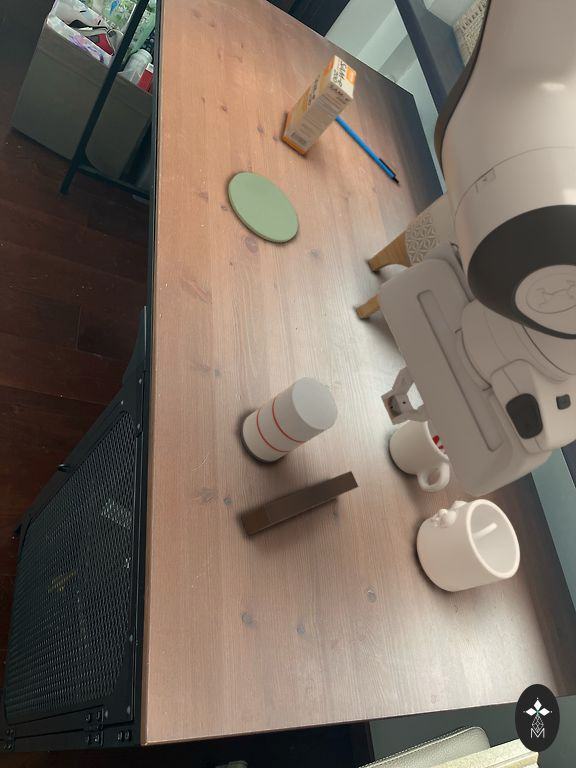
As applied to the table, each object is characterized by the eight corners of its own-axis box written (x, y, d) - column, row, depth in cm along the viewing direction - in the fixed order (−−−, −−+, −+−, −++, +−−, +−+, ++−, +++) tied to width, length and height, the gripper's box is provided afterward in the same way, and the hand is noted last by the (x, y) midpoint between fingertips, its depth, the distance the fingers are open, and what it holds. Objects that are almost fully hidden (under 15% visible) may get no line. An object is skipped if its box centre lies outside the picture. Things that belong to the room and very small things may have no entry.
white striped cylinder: (300, 496, 65) (313, 397, 61) (229, 453, 72) (237, 362, 68) (336, 479, 69) (351, 385, 65) (266, 440, 76) (276, 354, 72)
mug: (438, 494, 86) (491, 473, 80) (479, 558, 86) (536, 542, 79) (397, 537, 78) (452, 517, 72) (441, 609, 77) (502, 595, 71)
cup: (430, 506, 84) (477, 487, 79) (388, 496, 80) (434, 476, 75) (418, 434, 90) (461, 412, 84) (378, 421, 86) (421, 398, 80)
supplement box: (286, 112, 107) (334, 52, 98) (308, 129, 109) (357, 72, 100) (280, 139, 102) (330, 78, 93) (303, 156, 104) (354, 98, 95)
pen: (396, 184, 120) (400, 181, 120) (326, 111, 116) (330, 107, 116) (397, 182, 121) (401, 179, 120) (328, 110, 117) (331, 105, 116)
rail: (248, 535, 65) (271, 524, 62) (240, 517, 65) (263, 505, 62) (335, 497, 74) (358, 486, 71) (328, 482, 75) (351, 470, 72)
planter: (384, 369, 92) (535, 272, 74) (333, 261, 96) (464, 145, 78) (451, 356, 105) (593, 271, 87) (403, 261, 109) (530, 162, 91)
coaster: (248, 242, 86) (250, 239, 85) (215, 171, 88) (217, 168, 88) (307, 242, 94) (309, 240, 93) (276, 178, 96) (278, 175, 96)
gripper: (437, 225, 49) (326, 313, 58) (558, 468, 44) (414, 521, 53) (478, 231, 53) (368, 312, 62) (592, 452, 48) (454, 504, 57)
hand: (390, 410), depth 58 cm, fingers closed
